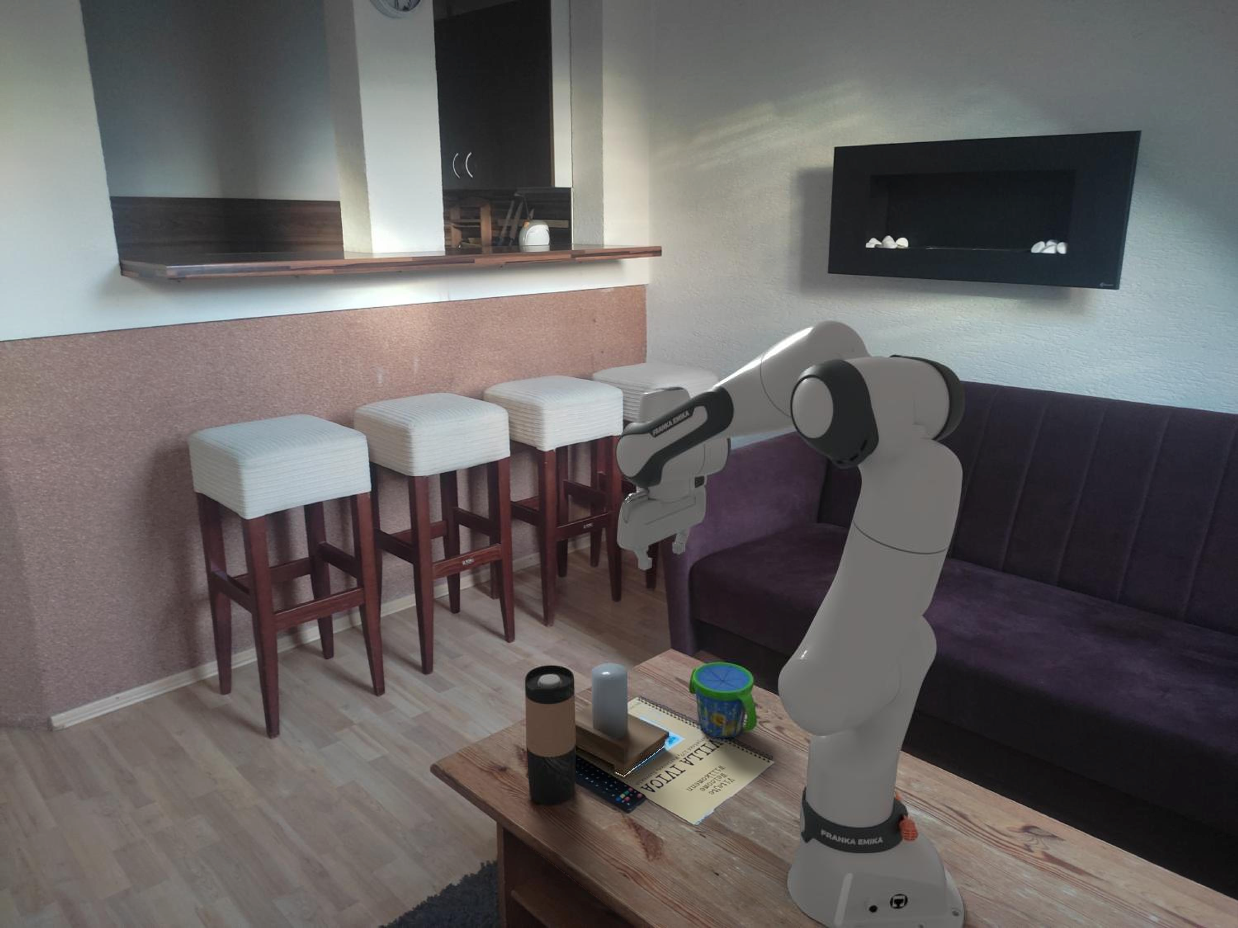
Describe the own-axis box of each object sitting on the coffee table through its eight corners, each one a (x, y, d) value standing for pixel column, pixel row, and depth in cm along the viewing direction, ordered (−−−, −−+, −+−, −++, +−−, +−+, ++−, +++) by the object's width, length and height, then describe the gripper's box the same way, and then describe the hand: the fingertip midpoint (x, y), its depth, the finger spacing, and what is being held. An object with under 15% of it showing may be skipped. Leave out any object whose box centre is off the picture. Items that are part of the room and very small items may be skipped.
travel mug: (579, 777, 144) (578, 665, 138) (572, 807, 137) (570, 691, 131) (532, 774, 145) (529, 663, 139) (523, 804, 137) (519, 688, 132)
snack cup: (772, 742, 154) (775, 689, 151) (721, 759, 149) (723, 705, 146) (720, 699, 167) (722, 650, 164) (672, 714, 162) (673, 663, 159)
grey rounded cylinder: (629, 720, 154) (628, 663, 151) (626, 740, 148) (626, 681, 145) (594, 719, 155) (593, 662, 152) (590, 739, 149) (589, 680, 146)
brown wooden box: (597, 714, 162) (597, 684, 160) (668, 747, 152) (669, 715, 150) (551, 743, 153) (551, 712, 151) (624, 780, 143) (624, 747, 142)
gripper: (638, 500, 139) (638, 583, 143) (712, 472, 154) (711, 548, 158) (607, 493, 143) (608, 573, 147) (683, 466, 158) (682, 540, 162)
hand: (662, 560), depth 152 cm, fingers open, 8 cm apart
